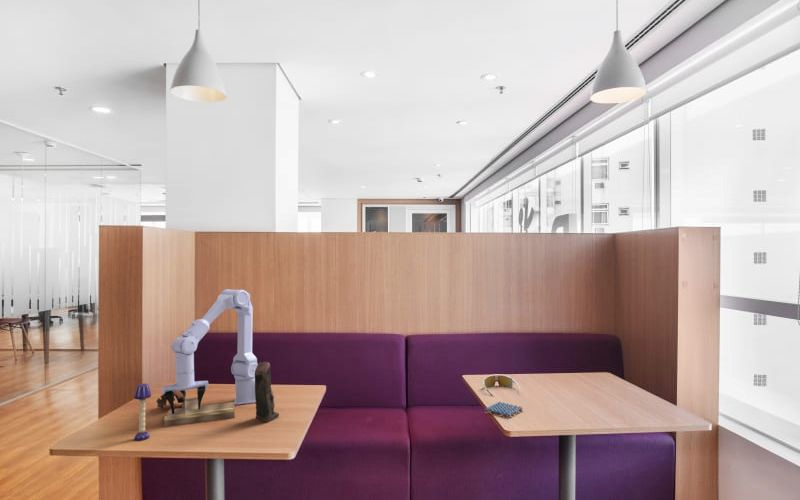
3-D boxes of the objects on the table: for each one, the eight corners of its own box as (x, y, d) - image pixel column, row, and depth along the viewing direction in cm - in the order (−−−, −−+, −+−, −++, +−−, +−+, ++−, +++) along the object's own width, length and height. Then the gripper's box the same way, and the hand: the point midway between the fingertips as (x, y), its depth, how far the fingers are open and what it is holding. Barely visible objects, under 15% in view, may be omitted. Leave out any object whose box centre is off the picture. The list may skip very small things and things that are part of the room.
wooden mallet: (196, 406, 167) (196, 393, 167) (198, 415, 158) (198, 400, 158) (184, 408, 165) (184, 394, 165) (185, 417, 156) (185, 402, 156)
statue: (279, 416, 161) (278, 359, 161) (267, 424, 154) (266, 364, 154) (263, 414, 163) (262, 358, 163) (250, 422, 156) (249, 363, 156)
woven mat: (482, 413, 162) (482, 408, 162) (498, 406, 169) (498, 400, 169) (509, 420, 154) (508, 414, 154) (524, 412, 162) (524, 406, 162)
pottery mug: (182, 413, 167) (169, 395, 166) (161, 424, 169) (148, 406, 167) (197, 395, 179) (185, 378, 177) (178, 405, 180) (165, 388, 179)
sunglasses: (512, 384, 195) (512, 373, 194) (524, 401, 180) (524, 389, 179) (479, 386, 194) (479, 374, 193) (488, 402, 179) (488, 390, 179)
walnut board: (234, 407, 172) (234, 397, 172) (234, 417, 161) (234, 407, 161) (169, 415, 165) (169, 405, 165) (164, 426, 153) (164, 416, 153)
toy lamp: (139, 435, 146) (138, 382, 147) (154, 434, 147) (153, 382, 147) (131, 441, 142) (130, 387, 142) (147, 440, 142) (146, 386, 142)
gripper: (206, 366, 166) (207, 403, 166) (161, 371, 159) (162, 411, 159) (208, 370, 159) (209, 409, 159) (161, 376, 153) (162, 417, 153)
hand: (185, 410), depth 159 cm, fingers open, 7 cm apart
